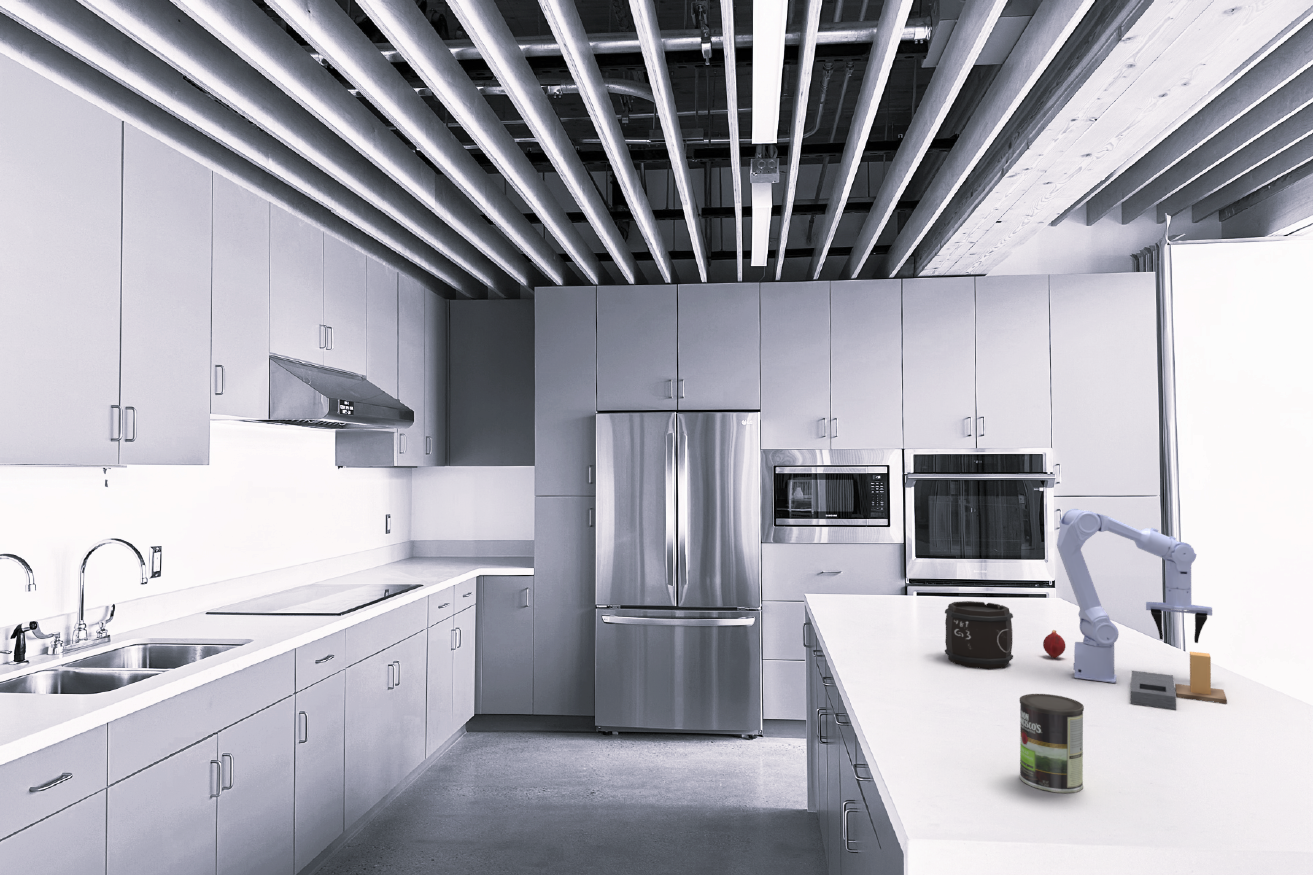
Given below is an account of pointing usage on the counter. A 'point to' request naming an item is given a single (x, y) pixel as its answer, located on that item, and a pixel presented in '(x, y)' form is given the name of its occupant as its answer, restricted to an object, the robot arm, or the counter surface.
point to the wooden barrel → (978, 634)
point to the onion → (1054, 644)
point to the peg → (1200, 673)
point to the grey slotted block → (1153, 690)
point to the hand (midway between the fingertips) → (1178, 640)
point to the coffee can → (1051, 743)
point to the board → (1186, 693)
